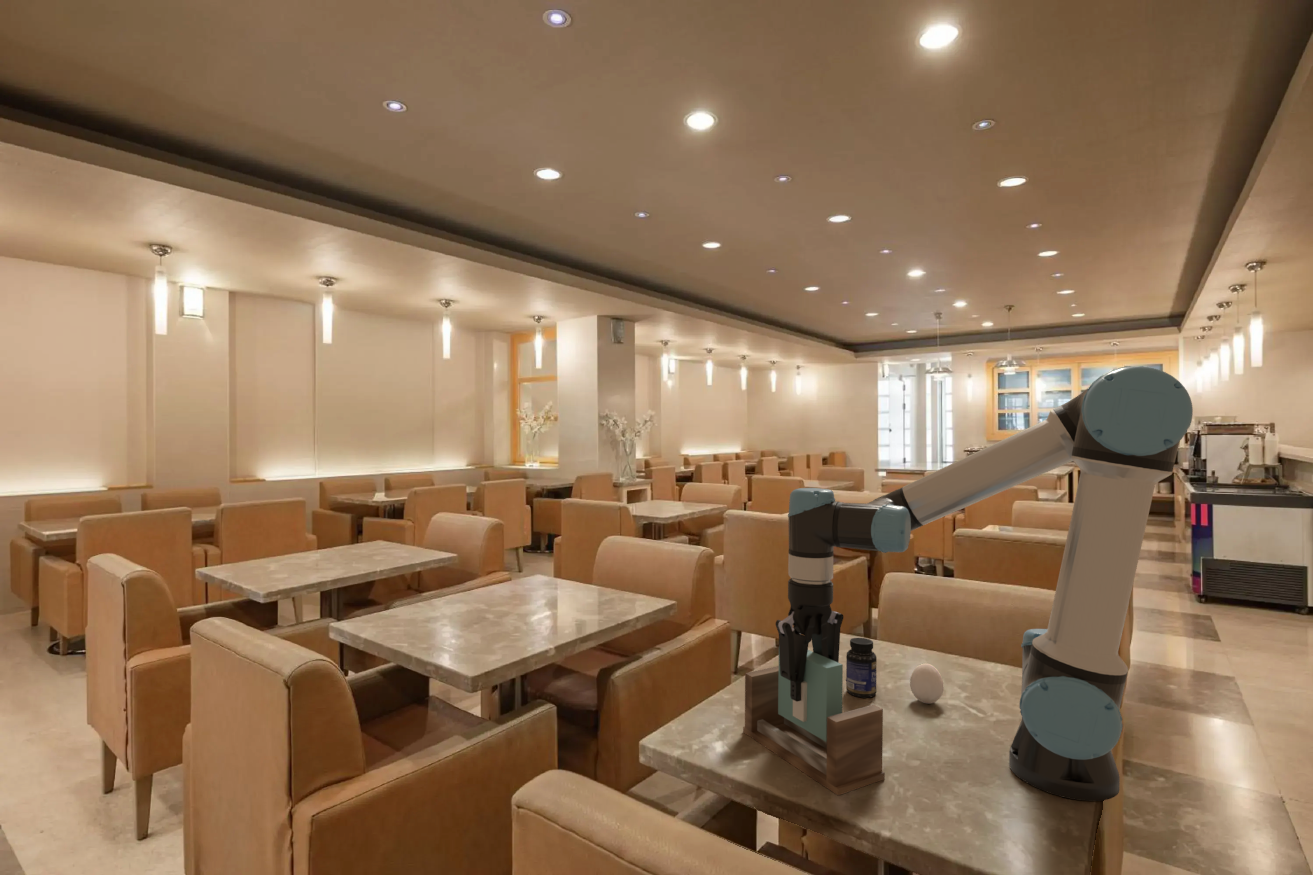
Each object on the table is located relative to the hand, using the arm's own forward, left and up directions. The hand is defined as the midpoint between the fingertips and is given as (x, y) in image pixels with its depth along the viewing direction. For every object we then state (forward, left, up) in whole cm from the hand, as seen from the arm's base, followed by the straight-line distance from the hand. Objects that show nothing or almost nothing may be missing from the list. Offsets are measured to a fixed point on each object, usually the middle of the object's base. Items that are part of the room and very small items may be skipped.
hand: (809, 715), depth 114 cm
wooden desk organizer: (0, 0, -7) cm, 7 cm away
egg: (+5, -36, -7) cm, 37 cm away
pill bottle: (+15, -28, -7) cm, 32 cm away
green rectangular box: (0, 0, -2) cm, 2 cm away
